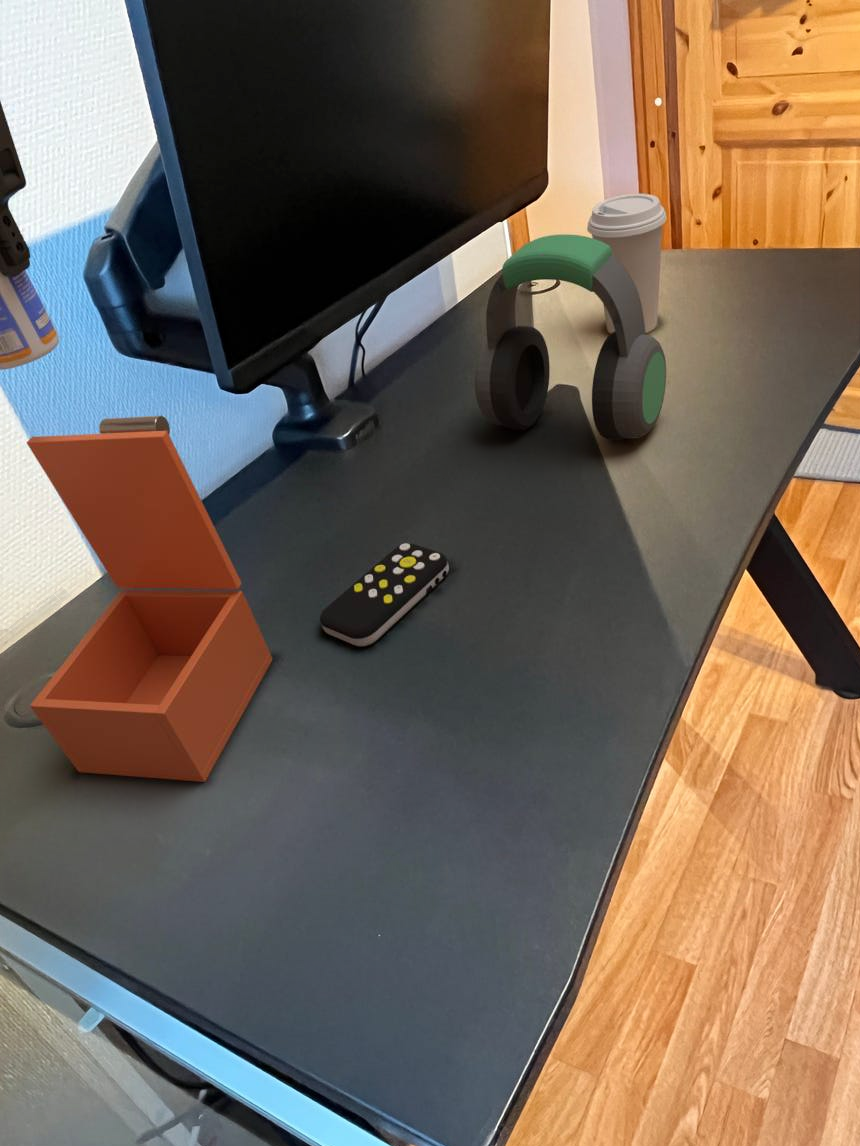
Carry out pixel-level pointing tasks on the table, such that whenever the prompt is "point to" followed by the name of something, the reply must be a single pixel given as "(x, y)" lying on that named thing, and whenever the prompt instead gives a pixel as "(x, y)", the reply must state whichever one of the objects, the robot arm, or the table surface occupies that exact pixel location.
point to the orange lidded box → (156, 684)
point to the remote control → (384, 594)
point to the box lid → (137, 505)
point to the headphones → (520, 356)
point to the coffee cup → (633, 244)
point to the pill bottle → (23, 323)
